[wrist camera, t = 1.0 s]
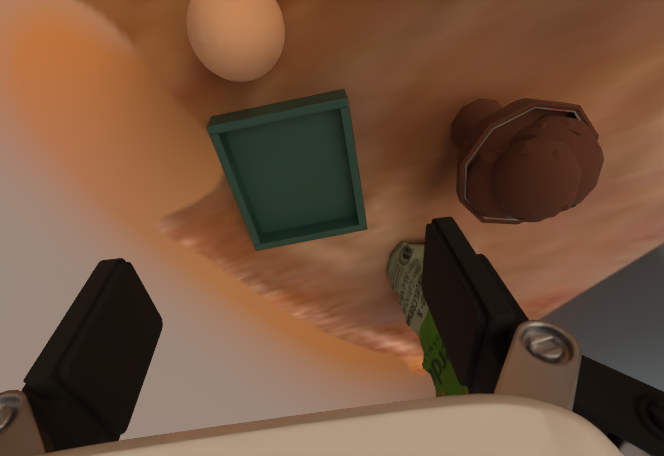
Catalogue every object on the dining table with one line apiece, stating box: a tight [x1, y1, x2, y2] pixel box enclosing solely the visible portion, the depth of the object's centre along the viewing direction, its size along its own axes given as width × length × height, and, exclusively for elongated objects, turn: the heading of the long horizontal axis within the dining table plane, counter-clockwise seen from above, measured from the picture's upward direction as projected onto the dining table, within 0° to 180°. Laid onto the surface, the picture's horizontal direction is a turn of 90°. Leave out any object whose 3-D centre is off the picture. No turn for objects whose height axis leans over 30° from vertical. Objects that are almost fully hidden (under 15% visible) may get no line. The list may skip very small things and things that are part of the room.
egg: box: [186, 0, 285, 82], centre depth 26 cm, size 7×7×9 cm
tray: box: [206, 89, 367, 251], centre depth 37 cm, size 15×13×3 cm
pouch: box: [387, 242, 469, 397], centre depth 37 cm, size 11×12×25 cm
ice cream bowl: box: [452, 98, 604, 224], centre depth 30 cm, size 11×11×15 cm
